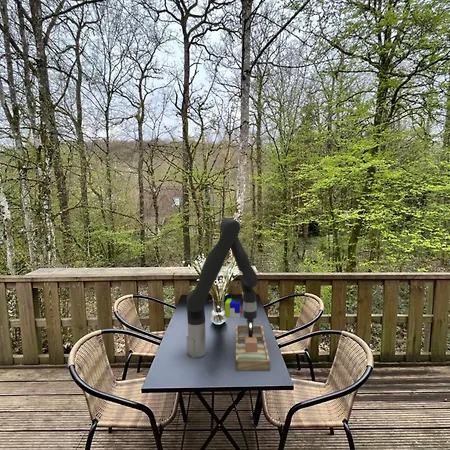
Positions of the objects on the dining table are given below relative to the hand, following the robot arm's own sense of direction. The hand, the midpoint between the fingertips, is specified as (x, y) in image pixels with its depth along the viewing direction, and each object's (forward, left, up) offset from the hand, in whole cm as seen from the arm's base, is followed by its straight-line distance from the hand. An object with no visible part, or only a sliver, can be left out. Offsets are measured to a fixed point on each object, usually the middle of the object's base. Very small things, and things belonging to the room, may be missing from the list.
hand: (250, 339), depth 164 cm
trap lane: (-3, -4, -3) cm, 6 cm away
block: (-6, -7, -1) cm, 9 cm away
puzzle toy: (+20, +39, -4) cm, 44 cm away
